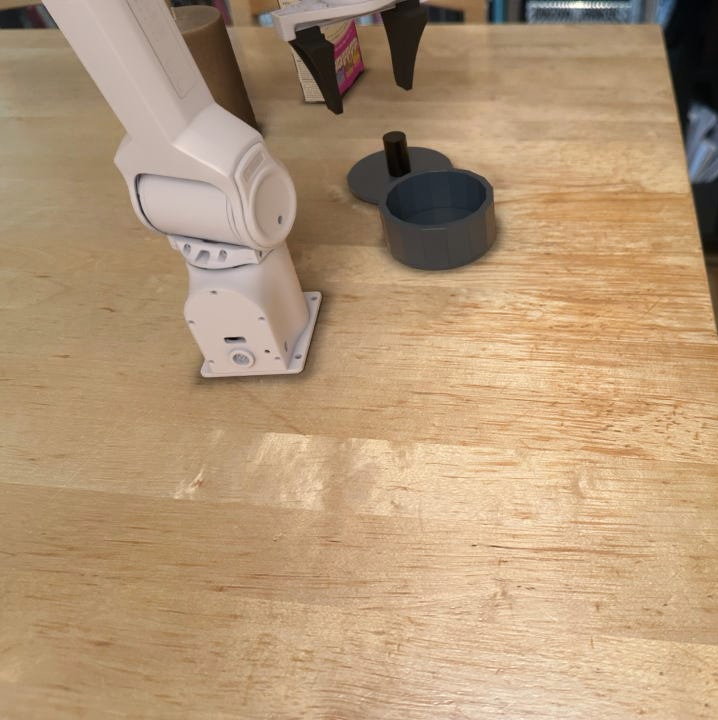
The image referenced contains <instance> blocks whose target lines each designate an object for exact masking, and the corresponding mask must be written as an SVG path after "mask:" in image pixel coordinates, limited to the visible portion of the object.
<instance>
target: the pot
mask: <svg viewBox="0 0 718 720" xmlns="http://www.w3.org/2000/svg"><path fill="white" fill-rule="evenodd" d="M377 208H378V212H379V218H380V223H381V227H382V233H383V238H384V243H385V245H386V247H387V251H388V252H389V254H390V255H391V256H392V258H393V259H394V260H396V261H397V262H399V263H400V264H402V265H404V266H407V267H409V268H413V269H416V270H423V271H445V270H453V269H456V268H460V267H463V266H467V265H469V264H471V263H473V262H475V261H477V260H479V259H481V258H482V257H483V256H485V254H487V253H488V252H489V250H491V248H492V247H493V245H494V243H495V240H496V236H497V235H496V214H495V211H496V210H495V192H494V186H493V185H492V184H491V183H490V182H489V181H488V180H487V178H486V177H485V176H483V175H481V174H478V173H476V172H474V171H471V170H469V169H463V168H457V167H452V168H451V167H442V168H428V169H423V170H420V171H416V172H412V173H408V174H406V175H404V176H402V177H401V178H399V179H397V180H395V181H393V182H391V183H390V184H389V185H388V186H387V187H386V188H385V189H384V191H383V192H382V193H381V194H380V199H379V204H377Z"/></svg>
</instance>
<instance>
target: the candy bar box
mask: <svg viewBox="0 0 718 720" xmlns="http://www.w3.org/2000/svg"><path fill="white" fill-rule="evenodd" d="M276 1H277V4H278V8H279V10H280V9H283V8H285V7H288V6H290V5H293V4H295V3H298V2H300V1H302V0H276ZM356 27H357V26H356V22H355V19H354V20H350V21H347V22H343V23H340V24H336V25H333V26H329V27H326V28H322V29H320V30H321V33H322V34H323V33H324V34H325V38H326V40H328V41H330V42H331V43H333V44H334V45H335V47H334V48H335V68H336V76H337V82H338V87H339V91H340V95H341V99H343V97H344V96H345V94H346V93H347V92H348V90H349V89H350V88H351V87H352V85H353V84H354V82H355V81H356V80H357V78H358V77H359V76H360V75H361V73H362V72H363V71H364V70H365V66H364V62H363V55H362V52H361V51H362V50H361V47H360V42H359V41H360V40H359V37H358V32H357V28H356ZM288 44H289V43H288ZM289 48H290V51H291V56H292V59H293V62H294V67H295V70H296V74H297V77H298V80H299V81H298V82H299V84H300V89H301V92H302V95H303V96H302V97H303V99H304V101H305V103H310V104H312V103H313V104H317V103H319V104H326V103H325V100H324V98H323V96H322V94H321V91H320V89H319V87H318V86H317V84H316V82H315V80H314V78H313V77H312V75H311V73H310V72H309V70H308V68H307V67H306V65H305V64H304V62H303V61H302V60H301V58H300V57H299V56H298V54H297V53H296V52H295V50H294V49H293V48H292V46H291V45H290V44H289Z"/></svg>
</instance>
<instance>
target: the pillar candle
mask: <svg viewBox="0 0 718 720" xmlns="http://www.w3.org/2000/svg"><path fill="white" fill-rule="evenodd" d="M168 9H169V11H170V13H171V15H172V17H173V19H174V21H175V23H176V25H177V27H178V29H179V31H180V33H181V35H182V37H183V39H184V41H185V43H186V45H187V47H188V49H189V51H190V53H191V55H192V57H193V59H194V61H195V63H196V65H197V67H198V69H199V71H200V73H201V75H202V77H203V79H204V81H205V83H206V84H207V86H208V88H209V90H210V92H211V94H212V96H213V98H214V100H215V102H216V103H217V104H218V105H220V106H221V107H222V108H224V109H225V110H227V111H228V112H230V113H231V114H233V115H234V116H236V117H237V118H239V119H240V120H242V121H243V122H245V123H246V124H248V125H249V126H251V127H252V128H254V129H255V130H256V131H258V132H259V133H260V134H261V130H259V129H260V128H259V125H258V122H257V119H256V114H255V112H254V109H253V107H252V103H251V101H250V97H249V95H248V91H247V88H246V86H245V82H244V79H243V75H242V72H241V68H240V67H239V63H238V60H237V57H236V54H235V51H234V48H233V45H232V41H231V38H230V35H229V33H228V29H227V26H226V24H225V19H224V16H223V14H222V12H221V11H220V8H219V9H218V8H217V7H214V6H211V5H199V4H196V5H194V4H193V5H184V6H183V5H182V6H176V7H174V6H171V7H170V8H168Z"/></svg>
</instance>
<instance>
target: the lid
mask: <svg viewBox="0 0 718 720" xmlns="http://www.w3.org/2000/svg"><path fill="white" fill-rule="evenodd" d="M381 139H382V143H383V149H382V150H378V151H376V152H374V153H371V154H369V155H366V156H364V157H363V158H361V159H359V161H356V163H354V164H353V166H352V167H351V168H350V170H348V174H347V178H346V181H347V185H348V188H349V191H350V192H351V193H352V194H353V195H354V196H355V197H357V198H359V199H360V200H363V201H365V202H368V203H372V204H377V205H378V204H379V199H380V194H381V193H382V192H383V191H384V189H385V188H386V187H387V186H388V185H389V184H390V183H391V182H393V181H395V180H397V179H399V178H401V177H402V176H404V175H406V174H408V173H412V172H416V171H420V170H423V169H428V168H442V167H451V168H453V164H452V161H451V160H450V159H449V157H447V156H446V155H445V154H443V153H442V152H440V151H437V150H435V149H432V148H428V147H423V146H408V141H407V140H408V139H407V134H406V133H405V132H404V131H401V130H393V131H389V132H386V133H384V134H383V135H382V138H381Z"/></svg>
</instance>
